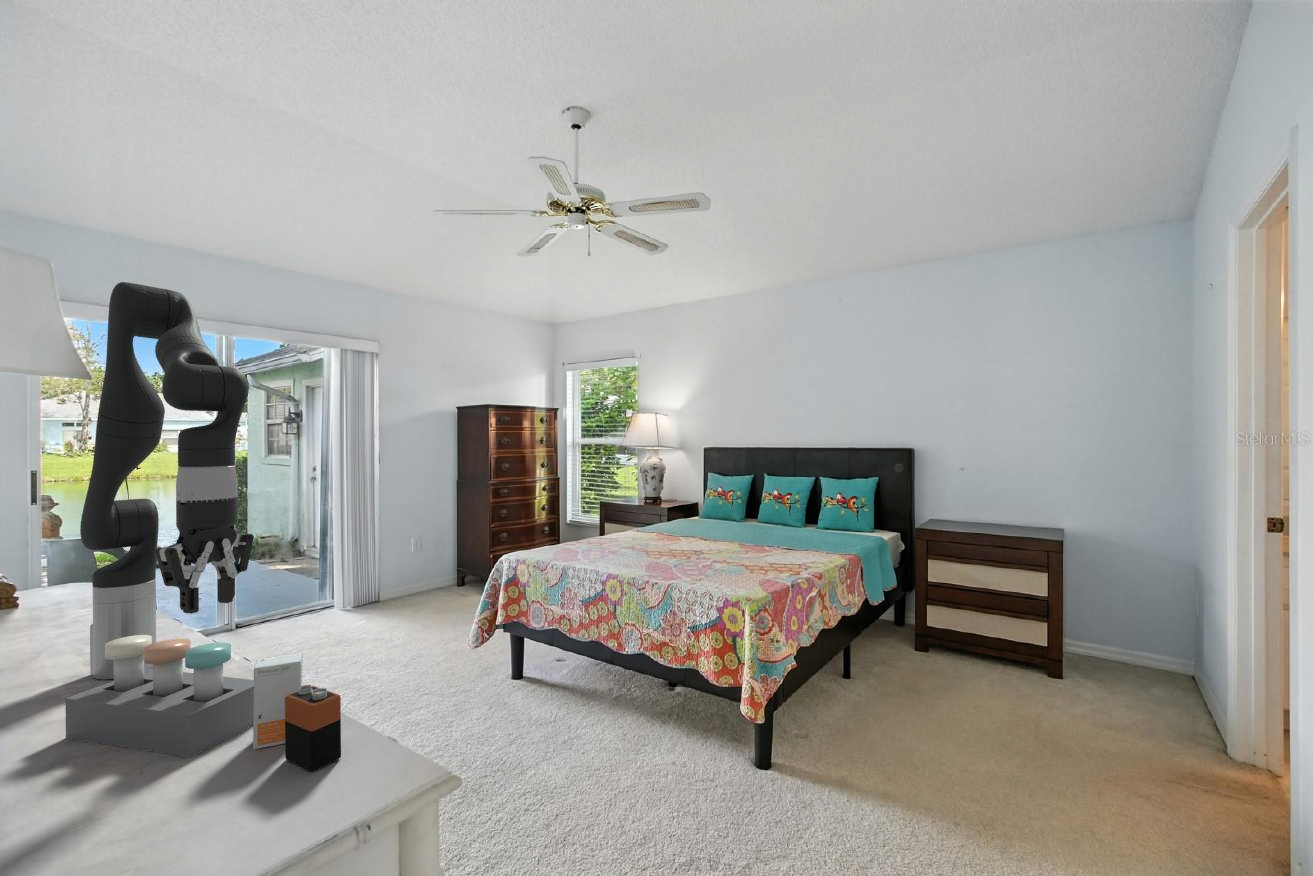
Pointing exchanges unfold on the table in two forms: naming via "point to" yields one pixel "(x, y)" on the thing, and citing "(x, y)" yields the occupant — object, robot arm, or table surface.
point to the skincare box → (273, 696)
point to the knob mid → (167, 665)
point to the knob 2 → (208, 669)
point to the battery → (312, 727)
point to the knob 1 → (128, 660)
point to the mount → (160, 716)
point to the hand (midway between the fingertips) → (208, 606)
